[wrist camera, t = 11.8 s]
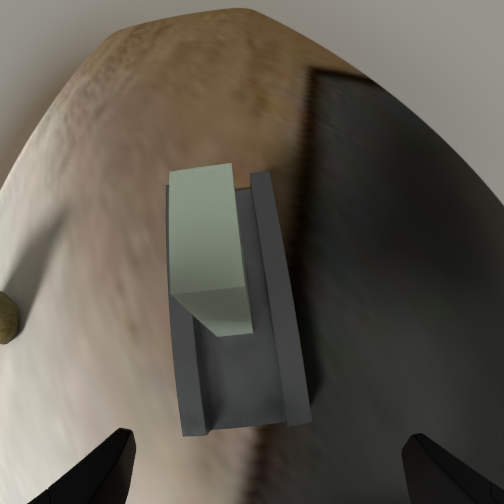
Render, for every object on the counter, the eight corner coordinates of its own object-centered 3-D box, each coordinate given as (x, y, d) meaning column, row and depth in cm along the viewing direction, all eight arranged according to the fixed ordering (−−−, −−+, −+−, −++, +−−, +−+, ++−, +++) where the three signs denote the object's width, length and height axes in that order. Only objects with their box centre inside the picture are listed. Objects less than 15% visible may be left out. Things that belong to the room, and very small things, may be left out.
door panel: (253, 332, 22) (245, 286, 10) (217, 336, 21) (170, 294, 10) (245, 265, 23) (231, 163, 12) (211, 269, 23) (169, 171, 12)
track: (305, 416, 20) (312, 422, 17) (192, 429, 20) (183, 436, 17) (268, 191, 27) (269, 170, 24) (174, 204, 26) (165, 185, 24)
